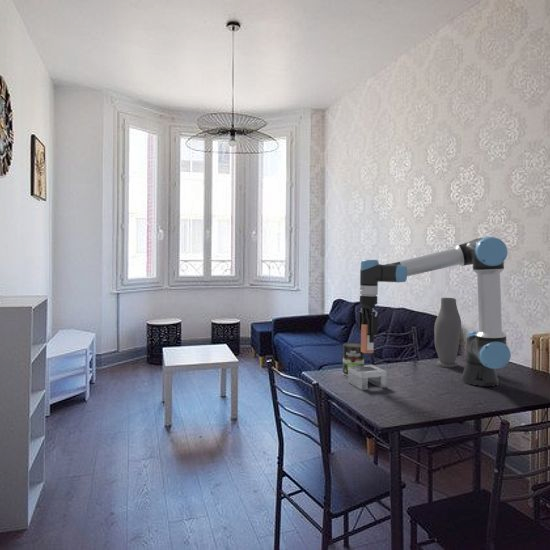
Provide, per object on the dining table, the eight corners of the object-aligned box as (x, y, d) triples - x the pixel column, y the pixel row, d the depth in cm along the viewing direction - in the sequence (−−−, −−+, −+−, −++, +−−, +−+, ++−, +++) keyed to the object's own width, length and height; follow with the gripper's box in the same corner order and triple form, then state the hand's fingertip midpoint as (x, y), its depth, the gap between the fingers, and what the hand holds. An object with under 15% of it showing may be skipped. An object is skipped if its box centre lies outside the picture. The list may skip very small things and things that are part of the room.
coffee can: (363, 377, 204) (364, 347, 203) (341, 376, 206) (342, 346, 205) (364, 372, 214) (365, 343, 213) (343, 370, 216) (343, 342, 215)
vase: (442, 360, 238) (443, 296, 236) (465, 365, 228) (467, 298, 226) (429, 365, 229) (430, 298, 227) (452, 370, 219) (454, 300, 217)
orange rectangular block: (368, 351, 195) (369, 324, 194) (373, 353, 191) (374, 325, 190) (360, 351, 193) (361, 324, 193) (365, 353, 190) (366, 325, 189)
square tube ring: (371, 379, 201) (371, 364, 200) (386, 387, 189) (386, 371, 189) (347, 382, 197) (348, 366, 196) (361, 389, 185) (362, 373, 185)
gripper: (351, 293, 198) (349, 345, 199) (371, 297, 182) (370, 353, 183) (365, 293, 200) (364, 344, 201) (387, 297, 184) (385, 352, 185)
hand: (367, 348), depth 192 cm, fingers closed on orange rectangular block, 4 cm apart
